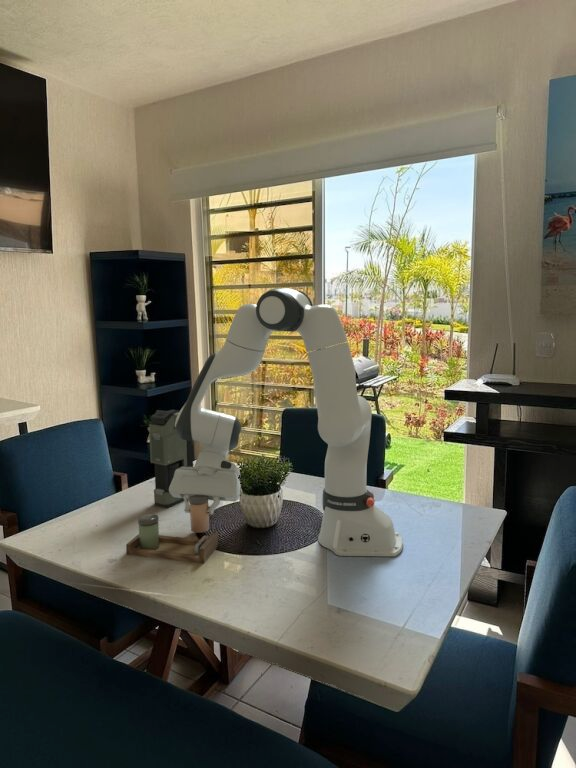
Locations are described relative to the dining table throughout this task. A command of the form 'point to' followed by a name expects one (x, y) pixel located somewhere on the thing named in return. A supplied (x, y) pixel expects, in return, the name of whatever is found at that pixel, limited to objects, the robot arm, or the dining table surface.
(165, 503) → the device
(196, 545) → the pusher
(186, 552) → the wooden tray
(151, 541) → the olive jar
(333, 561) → the dining table surface
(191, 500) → the terracotta jar
